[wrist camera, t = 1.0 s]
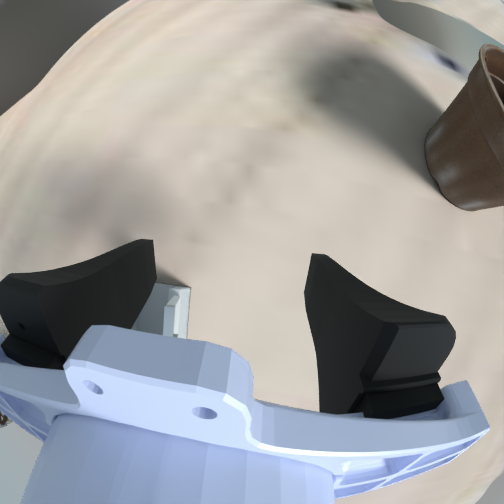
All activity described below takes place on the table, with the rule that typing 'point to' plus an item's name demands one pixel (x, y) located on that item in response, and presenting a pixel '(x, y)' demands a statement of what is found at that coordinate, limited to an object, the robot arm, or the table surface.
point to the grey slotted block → (154, 310)
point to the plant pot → (472, 138)
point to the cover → (172, 317)
